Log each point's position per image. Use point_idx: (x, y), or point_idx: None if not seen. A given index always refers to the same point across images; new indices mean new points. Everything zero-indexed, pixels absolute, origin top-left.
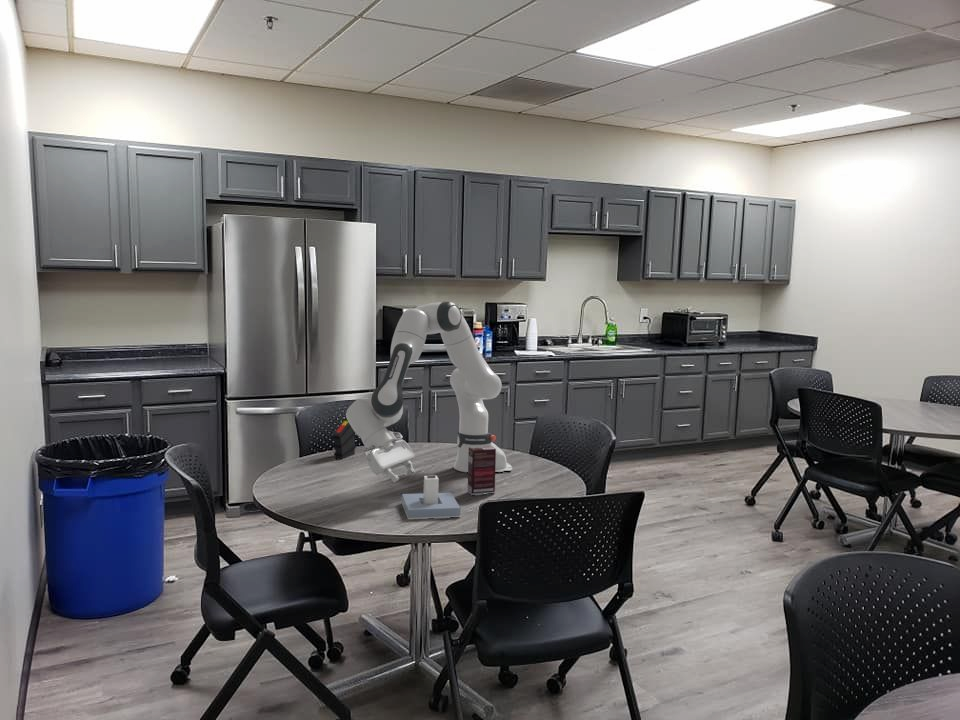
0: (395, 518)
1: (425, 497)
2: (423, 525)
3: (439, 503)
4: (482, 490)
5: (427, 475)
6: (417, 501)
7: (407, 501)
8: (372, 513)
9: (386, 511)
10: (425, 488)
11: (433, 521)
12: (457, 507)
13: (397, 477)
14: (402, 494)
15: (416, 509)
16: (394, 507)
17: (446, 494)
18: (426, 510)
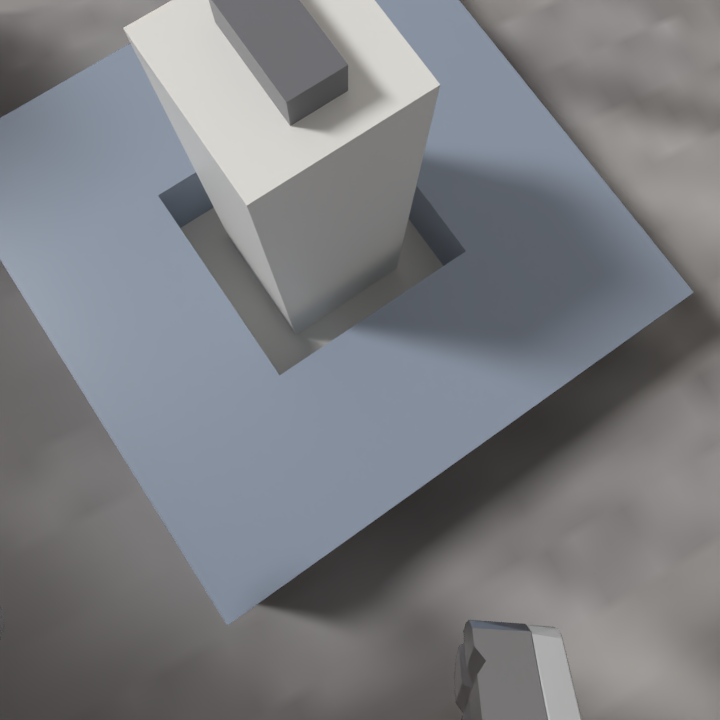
0: (679, 432)
1: (407, 217)
2: (699, 145)
3: (203, 198)
4: None
5: (307, 93)
6: (399, 333)
7: (454, 429)
8: (678, 710)
9: (553, 612)
10: (404, 177)
11: (571, 115)
12: None
13: (518, 650)
14: (239, 613)
15: (639, 227)
16: (404, 602)
17: (24, 167)
18: (572, 154)
